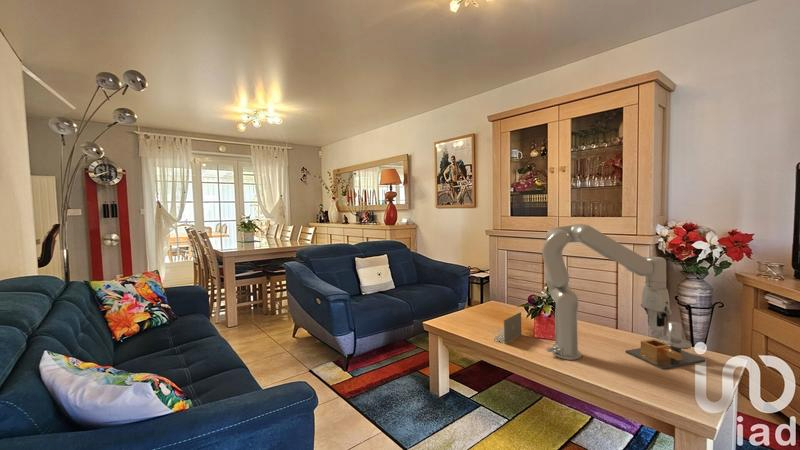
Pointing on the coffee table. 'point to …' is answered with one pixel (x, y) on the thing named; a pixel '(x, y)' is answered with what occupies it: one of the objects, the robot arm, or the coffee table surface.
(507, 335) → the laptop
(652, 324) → the grey block
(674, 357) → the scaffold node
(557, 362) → the coffee table surface
